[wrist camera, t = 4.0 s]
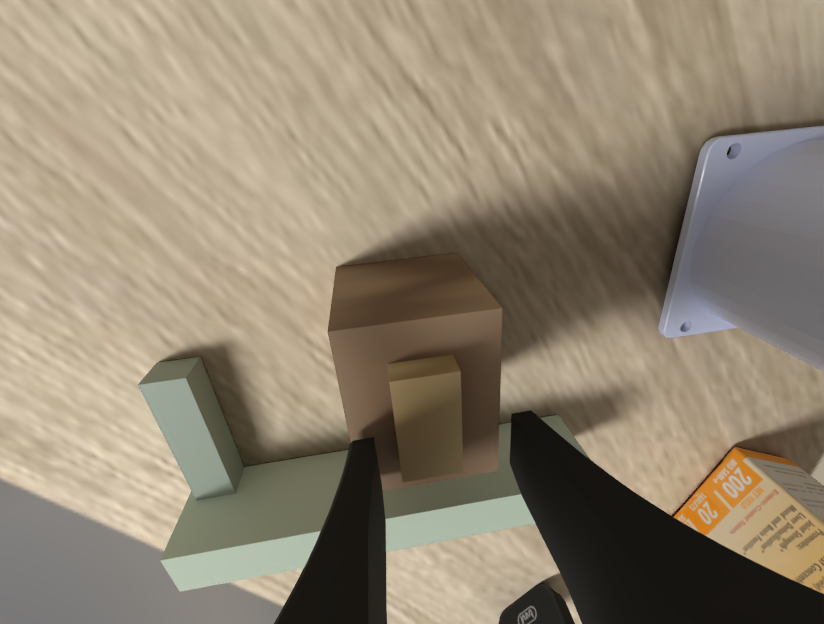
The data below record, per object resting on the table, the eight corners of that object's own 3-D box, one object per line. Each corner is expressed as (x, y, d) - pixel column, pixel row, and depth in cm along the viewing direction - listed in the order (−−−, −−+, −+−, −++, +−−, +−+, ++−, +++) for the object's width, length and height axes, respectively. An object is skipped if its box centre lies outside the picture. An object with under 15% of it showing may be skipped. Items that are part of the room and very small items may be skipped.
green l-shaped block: (571, 304, 16) (630, 352, 12) (554, 444, 19) (597, 511, 16) (145, 364, 14) (80, 437, 11) (213, 504, 18) (179, 591, 14)
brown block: (456, 251, 14) (514, 321, 9) (459, 380, 17) (506, 491, 12) (336, 266, 14) (325, 348, 9) (359, 396, 16) (361, 517, 11)
